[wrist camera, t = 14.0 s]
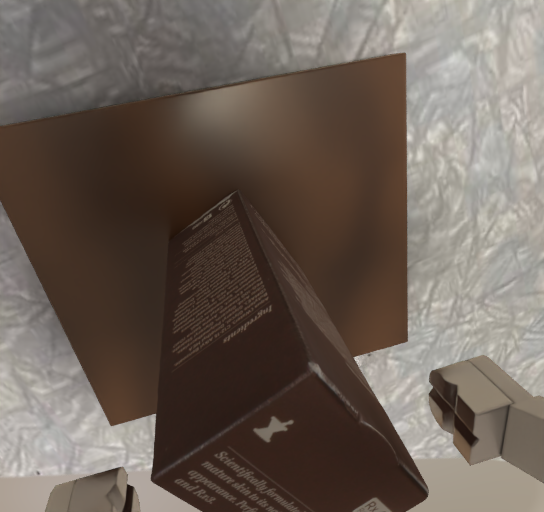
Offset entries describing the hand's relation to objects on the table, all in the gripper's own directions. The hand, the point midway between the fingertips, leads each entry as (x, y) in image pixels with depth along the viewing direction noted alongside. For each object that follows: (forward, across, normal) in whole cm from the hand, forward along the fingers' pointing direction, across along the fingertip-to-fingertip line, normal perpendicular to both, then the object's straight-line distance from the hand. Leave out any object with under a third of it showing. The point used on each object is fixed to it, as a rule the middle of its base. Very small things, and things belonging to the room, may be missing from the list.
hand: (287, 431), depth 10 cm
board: (+11, 0, 0) cm, 11 cm away
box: (+10, 0, 0) cm, 11 cm away
